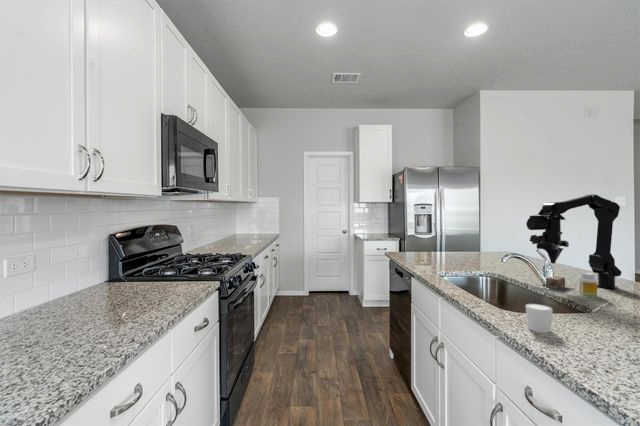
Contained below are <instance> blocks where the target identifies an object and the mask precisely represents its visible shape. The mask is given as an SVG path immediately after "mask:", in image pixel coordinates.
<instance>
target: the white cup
mask: <svg viewBox="0 0 640 426" xmlns="http://www.w3.org/2000/svg"><path fill="white" fill-rule="evenodd" d="M525 313H526V320H527V328H528V329H529V330H530V331H532V332H537V333H543V334H544V333H545V334H548V332H549V333H550V332H552V331H551V330H552V321H553V320H552V319H553V313H554V312H553V308H552V307H550V306H548V305H544V304H540V303H539V304H538V303H527V304H525Z"/></svg>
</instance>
